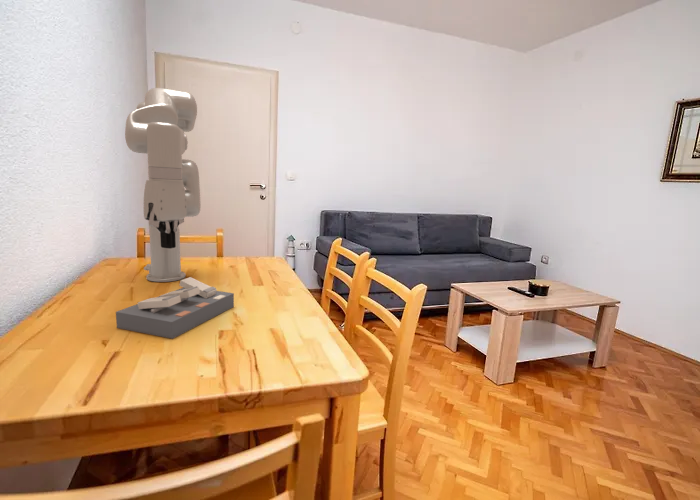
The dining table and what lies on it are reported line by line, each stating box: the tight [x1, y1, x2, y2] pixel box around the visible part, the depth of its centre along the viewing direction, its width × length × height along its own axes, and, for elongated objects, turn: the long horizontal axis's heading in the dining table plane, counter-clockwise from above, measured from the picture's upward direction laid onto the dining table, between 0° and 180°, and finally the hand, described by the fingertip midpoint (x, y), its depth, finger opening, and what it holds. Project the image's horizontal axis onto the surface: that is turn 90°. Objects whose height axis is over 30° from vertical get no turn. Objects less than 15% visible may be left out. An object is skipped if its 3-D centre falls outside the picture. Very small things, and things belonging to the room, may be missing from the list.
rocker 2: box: [159, 286, 200, 299], centre depth 96 cm, size 9×4×2 cm, turn 74°
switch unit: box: [115, 287, 235, 340], centre depth 96 cm, size 16×24×5 cm, turn 164°
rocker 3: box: [179, 276, 218, 298], centre depth 102 cm, size 9×4×2 cm, turn 74°
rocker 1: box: [137, 294, 181, 309], centre depth 89 cm, size 9×4×2 cm, turn 74°
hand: (168, 247), depth 95 cm, fingers closed
